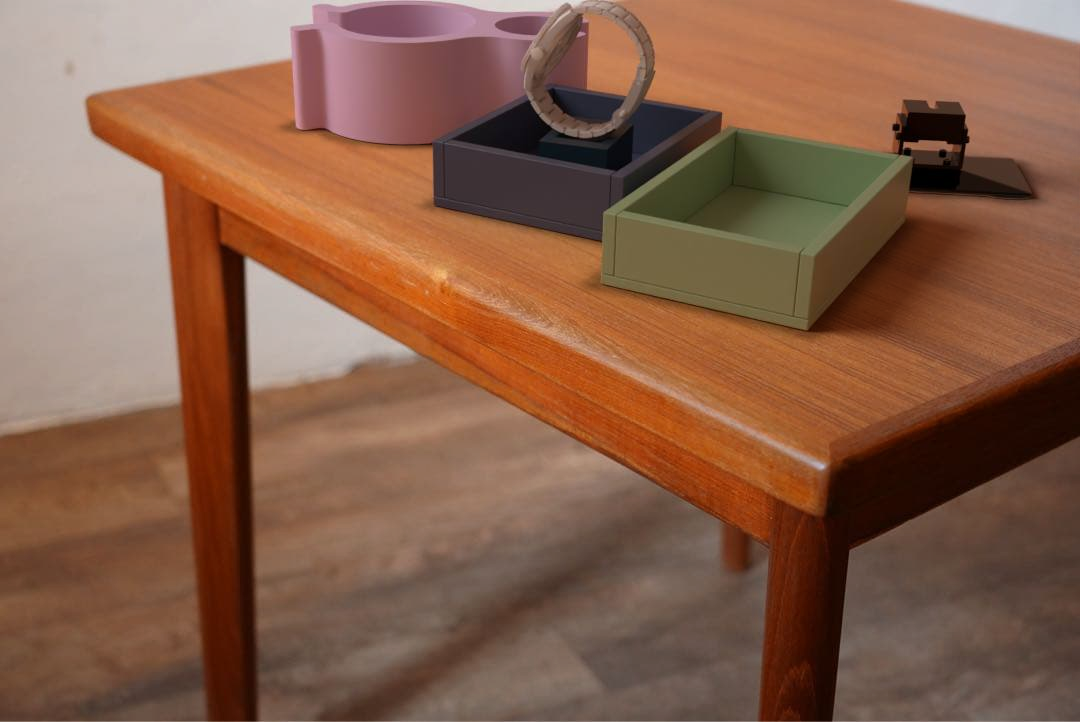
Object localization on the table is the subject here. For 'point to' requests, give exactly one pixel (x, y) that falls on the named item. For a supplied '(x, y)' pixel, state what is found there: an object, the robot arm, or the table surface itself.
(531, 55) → the watch
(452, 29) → the pink double dish
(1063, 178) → the table surface
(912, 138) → the dark piece
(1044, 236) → the table surface
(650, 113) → the blue bin
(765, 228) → the green bin
